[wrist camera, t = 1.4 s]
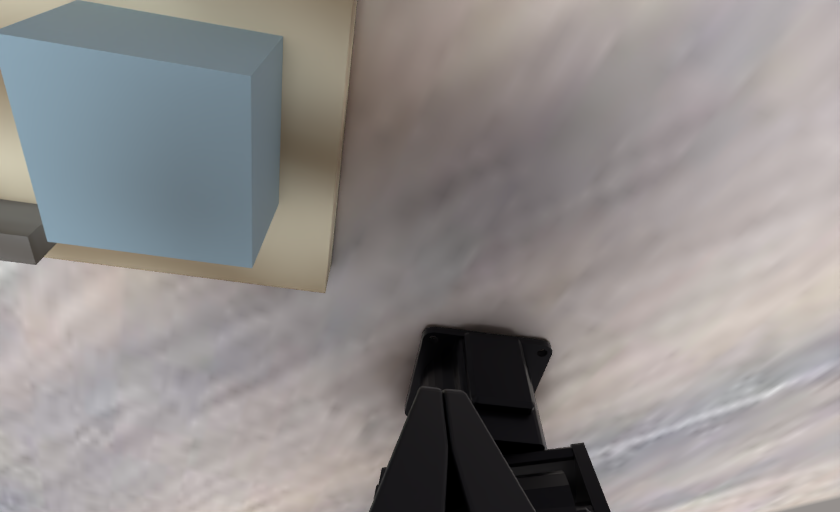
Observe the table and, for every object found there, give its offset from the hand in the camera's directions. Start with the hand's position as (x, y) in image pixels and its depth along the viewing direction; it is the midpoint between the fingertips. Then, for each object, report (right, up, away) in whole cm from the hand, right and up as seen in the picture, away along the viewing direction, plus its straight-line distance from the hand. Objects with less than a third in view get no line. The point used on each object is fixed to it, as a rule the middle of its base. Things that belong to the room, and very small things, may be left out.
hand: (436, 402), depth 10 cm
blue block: (-8, +7, +8) cm, 14 cm away
